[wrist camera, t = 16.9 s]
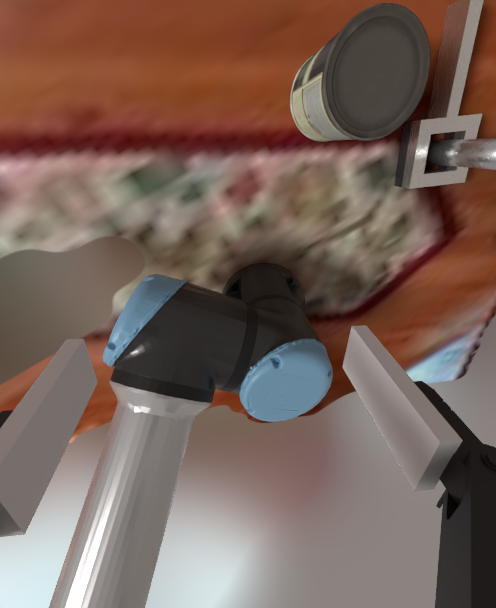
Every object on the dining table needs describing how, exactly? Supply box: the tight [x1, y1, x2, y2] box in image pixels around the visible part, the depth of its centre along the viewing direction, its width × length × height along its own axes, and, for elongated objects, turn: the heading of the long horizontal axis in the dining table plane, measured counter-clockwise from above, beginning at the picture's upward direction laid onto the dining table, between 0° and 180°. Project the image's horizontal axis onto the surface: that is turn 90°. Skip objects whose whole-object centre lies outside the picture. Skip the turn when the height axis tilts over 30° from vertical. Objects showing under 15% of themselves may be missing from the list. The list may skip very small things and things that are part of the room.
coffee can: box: [290, 3, 431, 141], centre depth 33 cm, size 10×10×14 cm
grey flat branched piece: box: [394, 0, 484, 189], centre depth 40 cm, size 21×21×4 cm
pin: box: [426, 138, 496, 170], centre depth 37 cm, size 3×3×16 cm
